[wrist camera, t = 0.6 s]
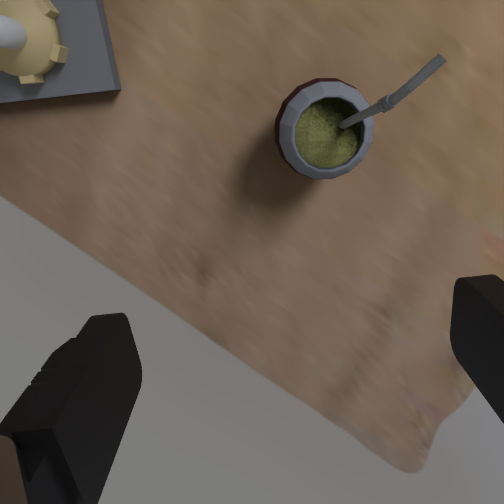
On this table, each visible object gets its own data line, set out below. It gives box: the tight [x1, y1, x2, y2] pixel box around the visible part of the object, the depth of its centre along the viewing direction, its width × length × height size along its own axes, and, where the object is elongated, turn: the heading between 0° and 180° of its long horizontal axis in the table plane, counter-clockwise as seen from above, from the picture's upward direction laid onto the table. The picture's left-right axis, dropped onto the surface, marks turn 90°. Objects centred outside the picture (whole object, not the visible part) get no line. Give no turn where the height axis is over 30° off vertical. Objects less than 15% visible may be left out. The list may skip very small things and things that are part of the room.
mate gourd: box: [275, 54, 446, 179], centre depth 27 cm, size 8×8×15 cm
